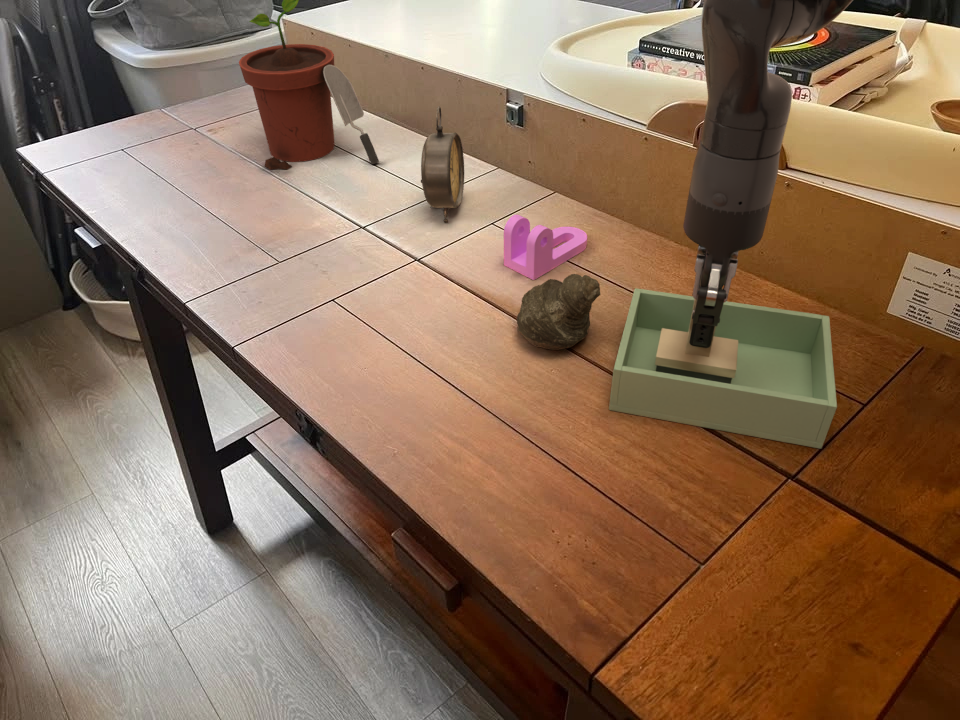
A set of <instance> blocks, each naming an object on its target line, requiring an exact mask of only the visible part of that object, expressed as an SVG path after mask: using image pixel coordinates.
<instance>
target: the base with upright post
mask: <svg viewBox="0 0 960 720" xmlns="http://www.w3.org/2000/svg"><path fill="white" fill-rule="evenodd" d="M695 304H696V299H694V304H693V310H695ZM693 310H692V313H693ZM692 325H693V319H692V315H691V320H690V325H689V330H688V332H683V331H677V330H671V329H665V328H662V330H661V335H660V340H659V345H658V350H657V354H656V360H655V365H657V366H656V371H657V372H663V373H669V374H674V375H680V376H686V377H692V378H698V379H704V380H710V381H716V382H722V383H728V384H731V380H732V378H734V377H735V373H736V368H737V354H738V340H734V339H728V338H721V337H715V336H714V333H715V328H716V326H715V328H714V332H713V337H712V341H711V346H710V347H709V348H702V347H696V346H692V345H690V343H689V341H690V335H691V330H692Z"/></svg>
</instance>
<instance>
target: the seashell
mask: <svg viewBox="0 0 960 720" xmlns="http://www.w3.org/2000/svg"><path fill="white" fill-rule="evenodd" d="M600 296H601V284H600V283H599V281H598V280H597V279H595V278H593V277H591V276H589V275H588V274H587V275H586V274H584V275H583V276H582V275H580V274H577V273H570V275H568V276H566V277H565V278H563V280H562V281H561V280H558V279H553V278H548V279H547V280H545V281H544V282H543V283H541V284H538V285H535V286H533V287H532V288H531V289H529V290H527V292H526V293H524V294H523V296H522V298H521V305H520V309H519V312H518V313H517V314H516V324H517V332H519V333H520V334H521V336H523V338H524V339H525V340H526V341H528V342H529V343H530V344H531V345H533V346H535V347H537V348H543V349H546V350H553V351H558V350H565V349H569V348H572V347H574V346H575V345H576V344H577V343H580V342H581V341H582V340H583V339H585V338H586V336H587V335H588V332H589V329H590V326H591V320H590V312H591V310H592V307H593V303H594V302H595V301H596V299H598V298H599V297H600Z"/></svg>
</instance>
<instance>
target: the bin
mask: <svg viewBox="0 0 960 720" xmlns="http://www.w3.org/2000/svg"><path fill="white" fill-rule="evenodd" d="M693 304H694V298H693V296H692V295H686V294H678V293H672V292H664V291H658V290H651V289H645V288H644V289H643V288H636V287H635V288H634V290H633V294H632V297H631V302H630V305H629V309H628V313H627V316H626V320H625V324H624V328H623V332H622V335H621V339H620V343H619V347H618V351H617V355H616V357H615V358H616V359H615V361H614V366H613V369H612V380H611V388H610V395H609V405H608V410H609V411H611V412H612V411H613V412H617V413H618V412H619V413H623V414H628V415H634V416H641V417H646V418H650V419H656V420H662V421H667V422H673V423H679V424H683V425H688V426H694V427H699V428H705V429H711V430H717V431H721V432H726V433H733V434H737V435H742V436H749V437H754V438H760V439H766V440H769V441H770V440H771V441H776V442H780V443H781V442H782V443H787V444H791V445H799V446H804V447H807V448H808V447H809V448H815V449H820V450H822V449H823V446H824V443H825V441H826V438H827V435H828V433H829V431H830V427H831V424H832V422H833V419H834V416H835V414H836V411H837V409H838V403H837V391H836V377H835V369H834V357H833V355H834V354H833V346H832V344H833V343H832V334H831V322H830V321H831V320H830V315H824V314H818V313H811V312H805V311H798V310H790V309H783V308H777V307H769V306H764V305H763V306H762V305H754V304H750V303H749V304H748V303H741V302H735V301H728V300H727V301H726V302H725V303H724V304H723V307H722V311H721V315H720V323H718V325H717V326H716V328H715V333H714V336H715V337H721V338H728V339H734V340H738V354H737V368H736V373H735V377H734V378H732V380H731V384H728V383H722V382H716V381H710V380H704V379H698V378H692V377H686V376H680V375H674V374H669V373H663V372H657V371H656V366H657V365H655V360H656V354H657V350H658V345H659V340H660V335H661V330H662V328H665V329H671V330H677V331H683V332H688V330H689V325H690V320H691V315H692V310H693Z"/></svg>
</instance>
